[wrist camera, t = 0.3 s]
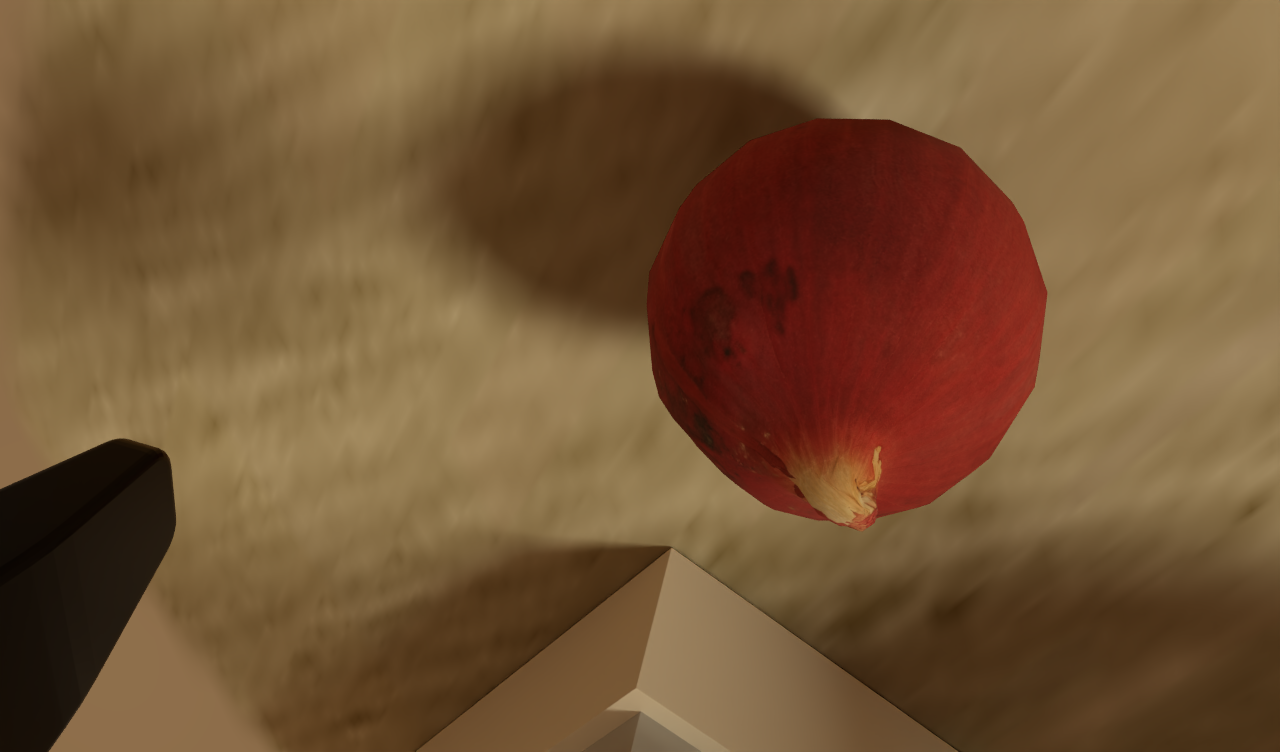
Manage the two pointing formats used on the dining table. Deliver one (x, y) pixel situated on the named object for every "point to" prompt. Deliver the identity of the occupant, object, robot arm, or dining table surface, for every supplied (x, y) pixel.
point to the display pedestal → (681, 683)
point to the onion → (846, 318)
